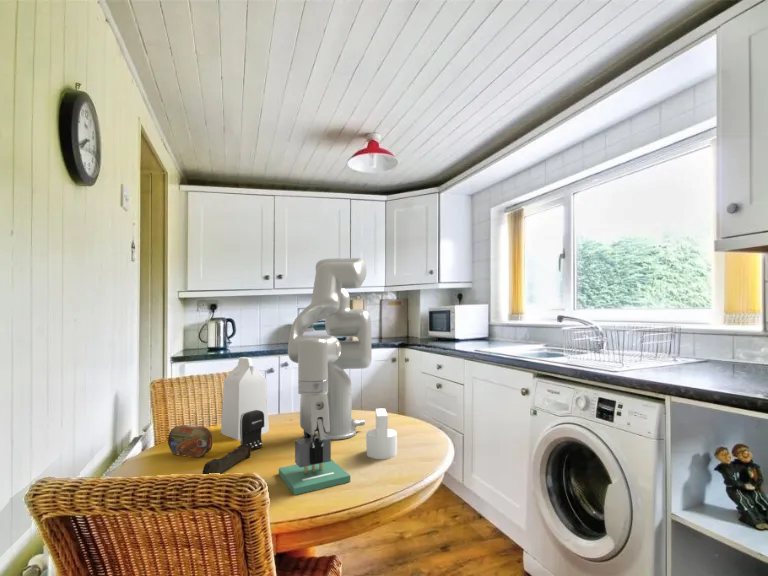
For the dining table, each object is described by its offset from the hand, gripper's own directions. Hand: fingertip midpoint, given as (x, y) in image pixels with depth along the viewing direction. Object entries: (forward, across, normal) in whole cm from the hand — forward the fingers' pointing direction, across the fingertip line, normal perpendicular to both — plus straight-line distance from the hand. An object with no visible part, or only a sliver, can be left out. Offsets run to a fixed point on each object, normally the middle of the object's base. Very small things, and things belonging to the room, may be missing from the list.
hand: (313, 459), depth 100 cm
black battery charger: (+5, +30, +9) cm, 32 cm away
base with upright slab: (+5, +6, -23) cm, 24 cm away
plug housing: (+1, 0, 0) cm, 1 cm away
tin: (+5, +35, +26) cm, 44 cm away
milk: (+4, +49, +8) cm, 50 cm away
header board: (+5, 0, 0) cm, 5 cm away
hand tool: (+5, +18, +18) cm, 26 cm away
